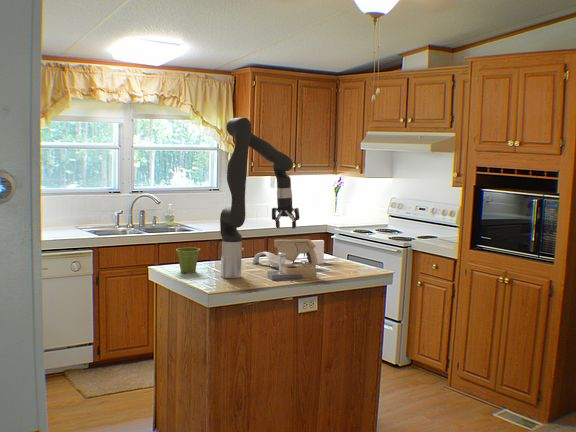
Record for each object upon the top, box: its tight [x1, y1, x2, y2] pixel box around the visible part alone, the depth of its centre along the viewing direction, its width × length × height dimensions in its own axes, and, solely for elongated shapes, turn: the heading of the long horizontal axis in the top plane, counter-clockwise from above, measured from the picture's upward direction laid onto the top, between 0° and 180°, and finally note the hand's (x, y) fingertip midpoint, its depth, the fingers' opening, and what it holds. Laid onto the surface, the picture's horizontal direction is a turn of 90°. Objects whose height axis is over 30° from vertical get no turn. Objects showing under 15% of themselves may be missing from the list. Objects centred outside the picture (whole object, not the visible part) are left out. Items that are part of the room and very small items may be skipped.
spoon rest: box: [252, 251, 293, 270], centre depth 313 cm, size 24×12×7 cm, turn 55°
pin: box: [278, 253, 286, 271], centre depth 296 cm, size 4×4×10 cm
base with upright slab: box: [306, 239, 325, 265], centre depth 327 cm, size 9×9×12 cm
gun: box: [273, 239, 318, 268], centre depth 315 cm, size 24×3×15 cm, turn 59°
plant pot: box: [175, 247, 201, 274], centre depth 294 cm, size 12×12×11 cm
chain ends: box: [266, 264, 318, 281], centre depth 286 cm, size 22×9×5 cm, turn 106°
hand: (286, 228), depth 303 cm, fingers open, 8 cm apart
